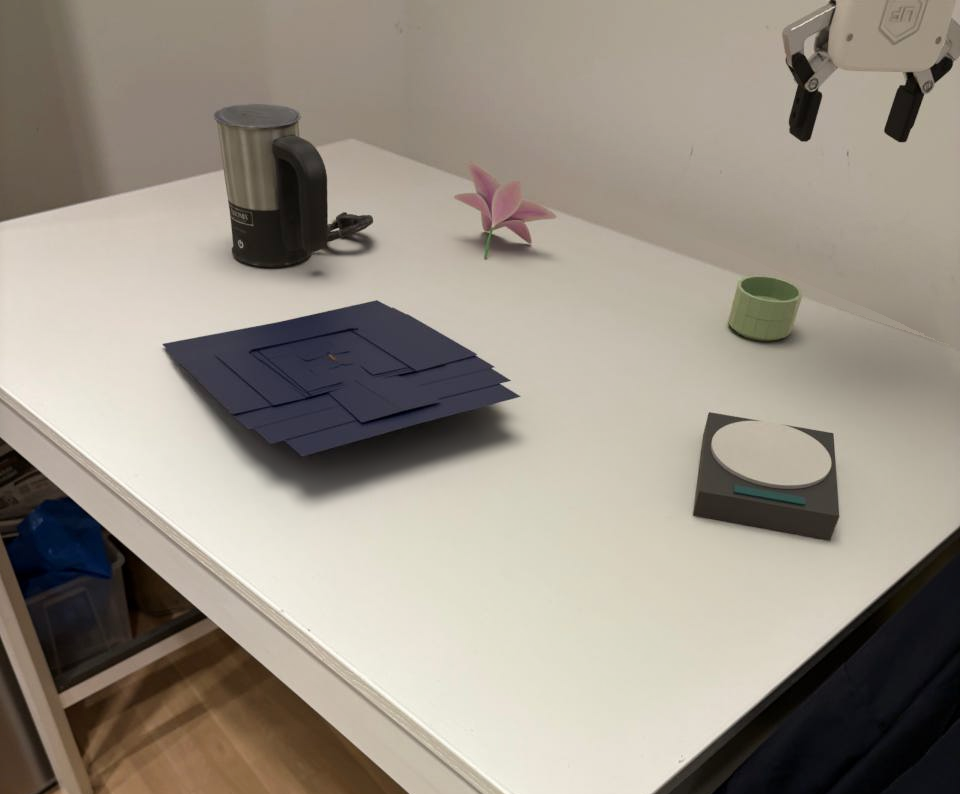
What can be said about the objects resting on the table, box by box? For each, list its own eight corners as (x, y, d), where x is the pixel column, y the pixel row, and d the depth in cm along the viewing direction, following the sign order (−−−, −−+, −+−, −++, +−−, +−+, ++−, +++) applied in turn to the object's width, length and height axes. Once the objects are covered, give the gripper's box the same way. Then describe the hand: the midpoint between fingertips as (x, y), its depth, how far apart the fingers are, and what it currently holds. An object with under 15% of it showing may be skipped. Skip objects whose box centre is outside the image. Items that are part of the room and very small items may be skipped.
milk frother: (215, 258, 108) (195, 116, 97) (286, 216, 118) (275, 84, 108) (323, 284, 104) (314, 139, 94) (386, 238, 115) (385, 104, 105)
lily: (559, 272, 113) (574, 187, 110) (487, 249, 105) (502, 157, 103) (494, 271, 121) (507, 192, 119) (423, 249, 113) (435, 164, 111)
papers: (283, 494, 73) (277, 451, 70) (164, 371, 93) (156, 335, 90) (538, 421, 83) (539, 381, 81) (381, 324, 103) (378, 291, 101)
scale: (825, 456, 84) (835, 428, 82) (830, 540, 74) (841, 511, 72) (702, 435, 85) (709, 407, 83) (692, 515, 76) (700, 486, 74)
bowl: (789, 321, 104) (801, 280, 101) (789, 348, 99) (802, 306, 96) (728, 312, 105) (738, 271, 102) (725, 337, 100) (736, 296, 97)
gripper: (840, -97, 70) (776, 150, 82) (1041, -85, 73) (952, 151, 85) (798, -109, 75) (744, 124, 87) (987, -98, 78) (910, 126, 90)
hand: (847, 137), depth 86 cm, fingers open, 9 cm apart
